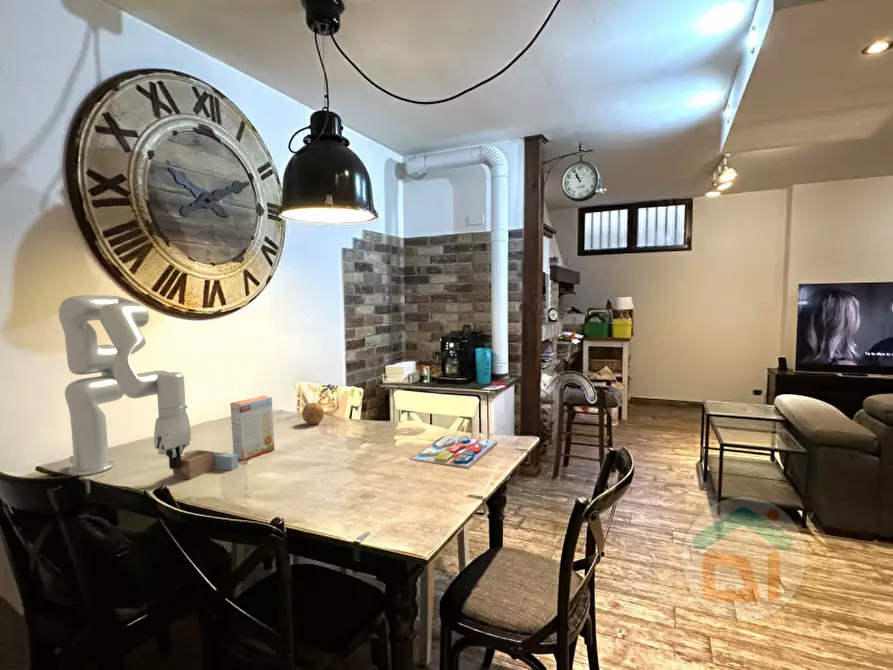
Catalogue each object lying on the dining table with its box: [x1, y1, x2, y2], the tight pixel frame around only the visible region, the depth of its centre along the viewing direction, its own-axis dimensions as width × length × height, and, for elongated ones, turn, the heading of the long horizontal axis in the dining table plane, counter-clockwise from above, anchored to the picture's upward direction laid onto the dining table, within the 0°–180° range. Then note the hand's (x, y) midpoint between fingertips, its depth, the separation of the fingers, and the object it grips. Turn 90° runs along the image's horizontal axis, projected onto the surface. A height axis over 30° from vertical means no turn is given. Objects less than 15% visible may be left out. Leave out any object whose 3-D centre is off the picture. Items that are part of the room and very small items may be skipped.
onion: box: [301, 402, 325, 425], centre depth 218 cm, size 10×10×10 cm
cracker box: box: [230, 395, 275, 461], centre depth 174 cm, size 14×6×21 cm, turn 148°
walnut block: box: [172, 449, 215, 480], centre depth 156 cm, size 7×10×6 cm
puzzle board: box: [409, 435, 498, 469], centre depth 176 cm, size 30×23×3 cm
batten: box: [184, 449, 239, 471], centre depth 163 cm, size 20×3×4 cm, turn 73°
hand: (175, 467), depth 150 cm, fingers closed
